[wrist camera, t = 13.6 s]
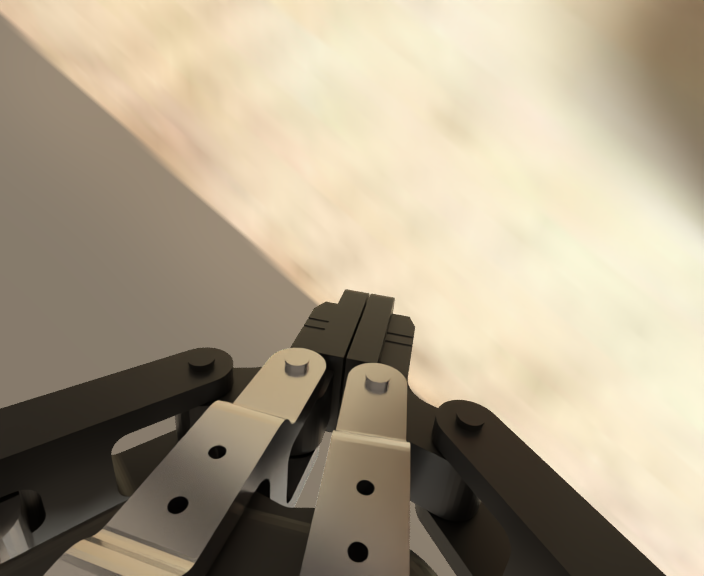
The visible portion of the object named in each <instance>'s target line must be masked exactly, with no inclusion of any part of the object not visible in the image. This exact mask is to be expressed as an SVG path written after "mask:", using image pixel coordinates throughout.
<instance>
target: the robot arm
mask: <svg viewBox="0 0 704 576" xmlns="http://www.w3.org/2000/svg"><path fill="white" fill-rule="evenodd" d="M394 301H395V298H393V297H387V296H381V295H376V294H371V295H370V297H369V293H364V292H358V291H353V290H347V289H346V290H345V291H344V293H343V295H342V297H341V299H340V301H339V303H338V304H335V303H330V302H324V303H323V304H321V305H319V306H317V307H316V308H314V310H313V311H312V313H311V315H310V316H309V319H308V320H307V321H306V323H305V324H304V327H303V328H302V329H301V331H300V333H299V334H298V336H297V338H296V339H295V341H294V343H293V344H292V346H291V347H290V348H288V349H284V350H281V351H278V352H276V353H275V354H273V355H272V356H271V357H270V358H269V359H268V361H267V362H266V363H265V364H264V366H263V367H257V368H233V360H232V357H231V356H230V355H229V354H228V353H226V352H225V351H222V350H220V349H216V348H197V349H192V350H188V351H185V352H182V353H179V354H176V355H172V356H169V357H166V358H163V359H159V360H156V361H153V362H150V363H146V364H143V365H140V366H137V367H134V368H130V369H127V370H124V371H121V372H117V373H115V374H111V375H108V376H105V377H101V378H98V379H95V380H92V381H88V382H85V383H82V384H79V385H75V386H72V387H69V388H66V389H63V390H59V391H56V392H53V393H50V394H46V395H43V396H40V397H37V398H33V399H30V400H27V401H24V402H21V403H17V404H14V405H11V406H8V407H4V408H1V409H0V576H437V574H436V573H435V572H434V571H433V570H432V569H431V567H430V566H428V564H427V563H426V562H425V561H424V560H423V559H421V558H420V557H419V556H418V555H417V554H416V553H414V552H413V551H412V550H410V501H412V502H414V503H415V509H416V513H417V516H418V518H419V520H420V522H421V523H422V525H423V526H424V528H425V529H426V531H427V532H428V534H429V535H430V537H431V538H432V540H433V541H434V542H435V544H436V546H437V547H438V548H439V550H440V552H441V553H442V555H443V556H444V558H445V559H446V561H447V562H448V564H449V565H450V567H451V568H452V570H453V571H454V572H455V574H456V575H457V576H666V575H665V574H664V573H663V572H662V571H661V570H660V569H658V568H657V567H656V566H655V565H654V564H653V563H652V562H651V561H650V560H649V559H648V558H647V557H646V556H645V555H644V554H643V553H641V552H640V551H639V550H638V549H637V548H636V547H635V546H634V545H633V544H632V543H631V542H630V541H629V540H628V539H627V538H625V537H624V536H623V535H622V534H621V533H620V532H619V531H618V530H617V529H616V528H615V527H614V526H613V525H612V524H611V523H609V522H608V521H607V520H606V519H605V518H604V517H603V516H602V515H601V514H600V513H599V512H598V511H597V510H596V509H595V508H593V507H592V506H591V505H590V504H589V503H588V502H587V501H586V500H585V499H584V498H583V497H582V496H581V495H580V494H579V493H578V492H576V491H575V490H574V489H573V488H572V487H571V486H570V485H569V484H568V483H567V482H566V481H565V480H564V479H563V478H562V477H560V476H559V475H558V474H557V473H556V472H555V471H554V470H553V469H552V468H551V467H550V466H549V465H548V464H547V463H546V462H544V461H543V460H542V459H541V458H540V457H539V456H538V455H537V454H536V453H535V452H534V451H533V450H532V449H531V448H530V447H529V446H527V445H526V444H525V443H524V442H523V441H522V440H521V439H520V438H519V437H518V436H517V435H516V434H515V433H514V432H513V431H511V430H510V429H509V428H508V427H507V426H506V425H505V424H504V423H503V422H502V421H501V420H500V419H499V418H498V417H497V416H495V415H494V414H493V413H492V412H491V411H490V410H488V409H487V408H485V407H483V406H481V405H479V404H477V403H474V402H470V401H465V400H452V401H448V402H445V403H443V404H442V405H441V406H440V407H439V408H436V407H434V406H432V405H430V404H428V403H426V402H424V401H422V400H421V399H419V398H418V397H417V396H416V395H415V394H414V393H413V392H412V390H411V389H410V387H409V385H408V372H409V365H410V358H411V351H412V344H413V338H414V331H415V326H414V324H413V322H412V321H411V319H410V317H407V316H402V315H396V314H393V308H394ZM172 416H175V420H176V430H174V431H172V432H170V433H167V434H165V435H162V436H160V437H157V438H155V439H153V440H150V441H148V442H146V443H143V444H141V445H138V446H136V447H133V448H131V449H129V450H126V451H124V452H121V453H119V454H116V455H111V451H112V448H113V446H114V444H115V443H116V442H117V441H118V440H119V439H120V438H122V437H123V436H125V435H127V434H129V433H132V432H134V431H137V430H139V429H141V428H144V427H147V426H149V425H152V424H154V423H157V422H160V421H162V420H165V419H167V418H170V417H172ZM325 431H327V432H332V437H331V441H330V446H329V450H328V455H327V459H326V463H325V468H324V472H323V476H322V481H321V485H320V489H319V494H318V498H317V502H316V507H315V508H294V506H295V504H296V502H297V500H298V498H299V496H300V494H301V491H302V489H303V487H304V485H305V483H306V480H307V478H308V476H309V474H310V472H311V470H312V468H313V465H314V463H315V461H316V459H317V457H318V453H319V444H320V443H321V441H322V438H323V435H324V433H325Z"/></svg>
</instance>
